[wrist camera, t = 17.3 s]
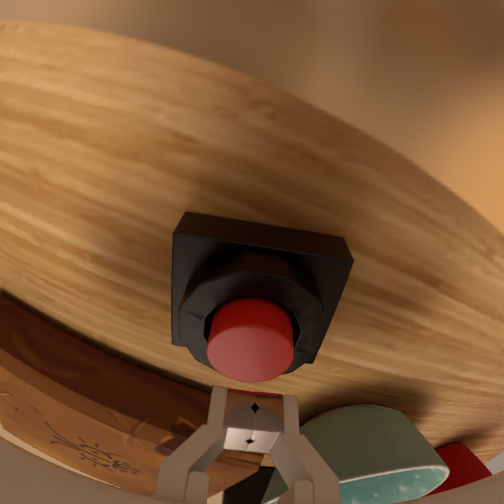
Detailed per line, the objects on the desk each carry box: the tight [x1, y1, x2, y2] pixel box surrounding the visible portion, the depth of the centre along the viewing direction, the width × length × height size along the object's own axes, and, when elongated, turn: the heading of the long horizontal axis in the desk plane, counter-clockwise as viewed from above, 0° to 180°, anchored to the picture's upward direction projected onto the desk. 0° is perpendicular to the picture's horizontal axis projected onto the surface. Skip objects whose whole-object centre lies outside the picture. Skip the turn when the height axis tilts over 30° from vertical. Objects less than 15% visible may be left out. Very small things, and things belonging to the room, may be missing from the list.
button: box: [206, 297, 294, 382], centre depth 13 cm, size 4×4×2 cm
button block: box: [171, 212, 354, 375], centre depth 15 cm, size 7×8×4 cm
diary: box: [0, 294, 264, 498], centre depth 23 cm, size 23×19×6 cm
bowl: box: [261, 404, 449, 504], centre depth 21 cm, size 16×16×8 cm
